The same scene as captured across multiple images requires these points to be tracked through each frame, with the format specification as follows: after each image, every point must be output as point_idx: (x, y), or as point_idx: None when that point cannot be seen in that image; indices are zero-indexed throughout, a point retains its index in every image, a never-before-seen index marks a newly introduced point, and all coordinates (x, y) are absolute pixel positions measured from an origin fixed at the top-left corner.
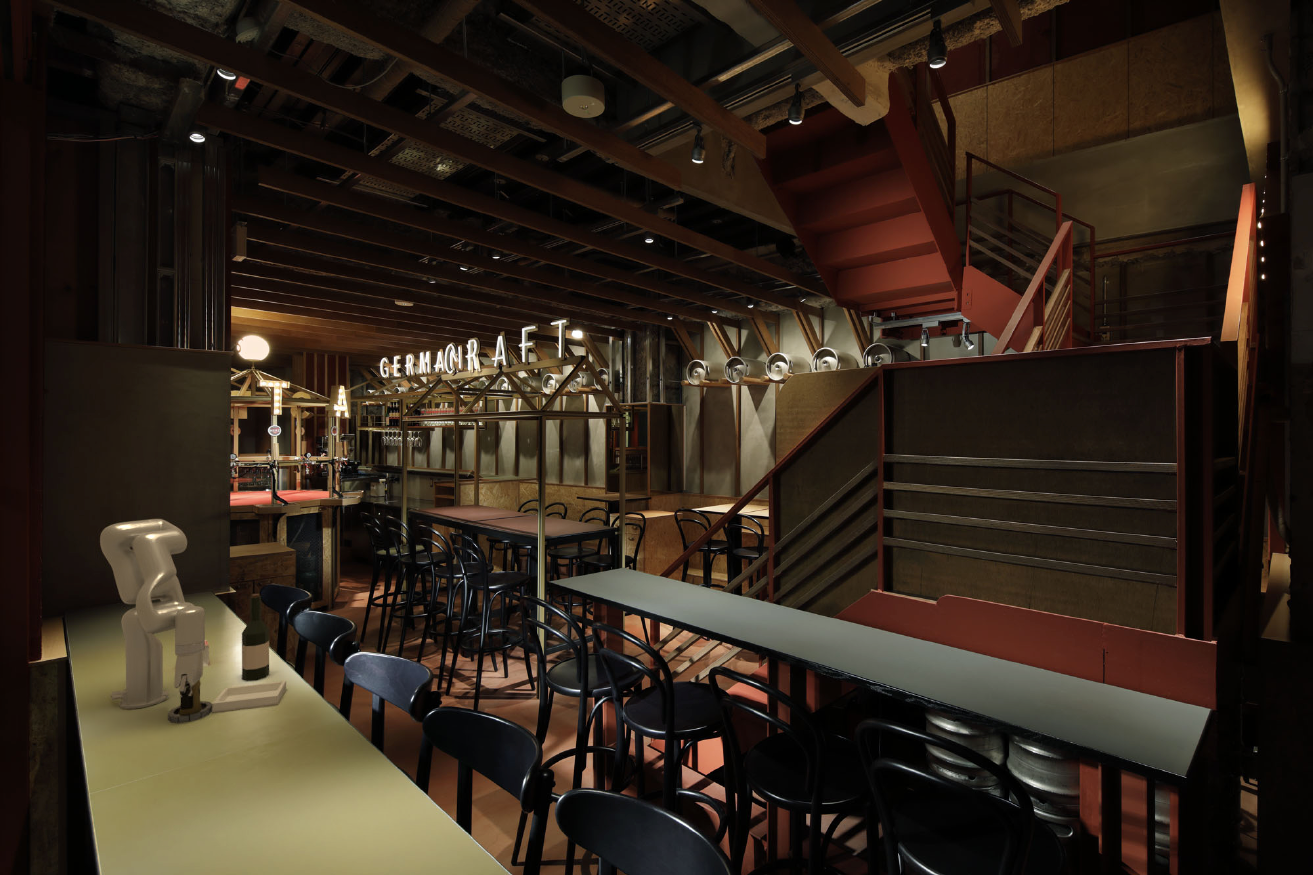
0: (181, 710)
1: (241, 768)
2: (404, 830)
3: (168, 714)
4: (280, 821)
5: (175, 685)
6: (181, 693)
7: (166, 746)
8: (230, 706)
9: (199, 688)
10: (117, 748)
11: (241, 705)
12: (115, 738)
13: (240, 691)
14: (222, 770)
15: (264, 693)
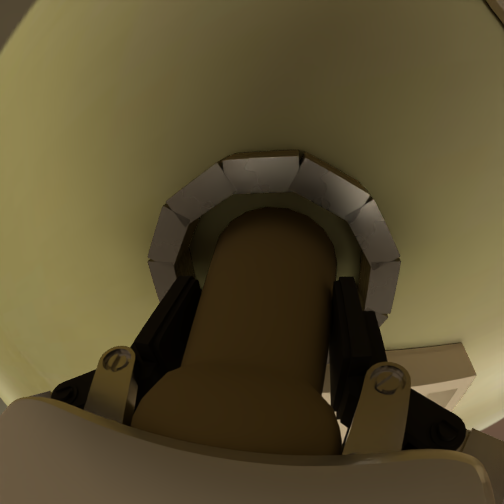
0: (213, 261)
1: (29, 385)
2: None
3: (197, 177)
4: (3, 389)
5: (2, 418)
6: (56, 392)
7: (21, 270)
8: None
9: (337, 416)
10: (3, 115)
11: None
12: (63, 29)
13: (433, 401)
14: (17, 368)
15: None
